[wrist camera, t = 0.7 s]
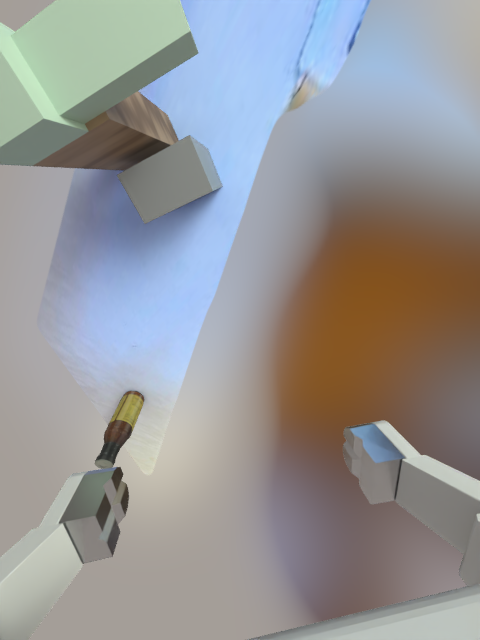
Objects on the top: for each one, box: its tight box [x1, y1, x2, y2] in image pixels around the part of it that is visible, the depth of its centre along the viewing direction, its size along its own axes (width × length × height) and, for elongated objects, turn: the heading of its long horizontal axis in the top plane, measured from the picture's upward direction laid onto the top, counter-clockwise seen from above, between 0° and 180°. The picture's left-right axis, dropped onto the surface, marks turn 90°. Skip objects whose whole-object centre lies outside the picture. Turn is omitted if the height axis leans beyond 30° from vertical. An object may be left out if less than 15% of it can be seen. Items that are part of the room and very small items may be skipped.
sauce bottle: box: [95, 391, 144, 469], centre depth 64 cm, size 7×6×20 cm
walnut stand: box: [33, 91, 179, 170], centre depth 30 cm, size 5×8×26 cm, turn 113°
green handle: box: [0, 0, 198, 166], centre depth 15 cm, size 5×16×5 cm, turn 113°
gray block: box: [117, 135, 223, 224], centre depth 36 cm, size 6×10×16 cm, turn 113°
